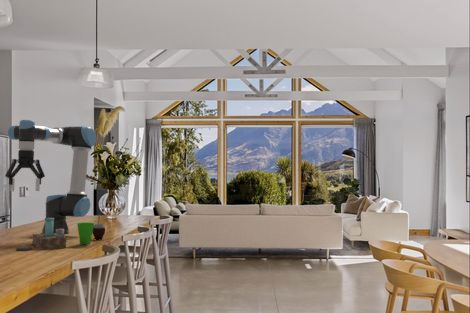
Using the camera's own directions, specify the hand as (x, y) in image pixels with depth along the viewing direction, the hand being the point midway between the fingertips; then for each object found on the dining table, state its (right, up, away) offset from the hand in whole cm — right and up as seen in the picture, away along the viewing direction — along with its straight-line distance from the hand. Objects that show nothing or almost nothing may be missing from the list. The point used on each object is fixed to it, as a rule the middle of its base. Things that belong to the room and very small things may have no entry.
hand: (25, 191), depth 279 cm
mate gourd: (+32, -29, +23) cm, 49 cm away
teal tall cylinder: (+14, -28, -4) cm, 31 cm away
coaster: (+6, -27, -18) cm, 33 cm away
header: (+14, -28, -4) cm, 31 cm away
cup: (+30, -28, +4) cm, 41 cm away
